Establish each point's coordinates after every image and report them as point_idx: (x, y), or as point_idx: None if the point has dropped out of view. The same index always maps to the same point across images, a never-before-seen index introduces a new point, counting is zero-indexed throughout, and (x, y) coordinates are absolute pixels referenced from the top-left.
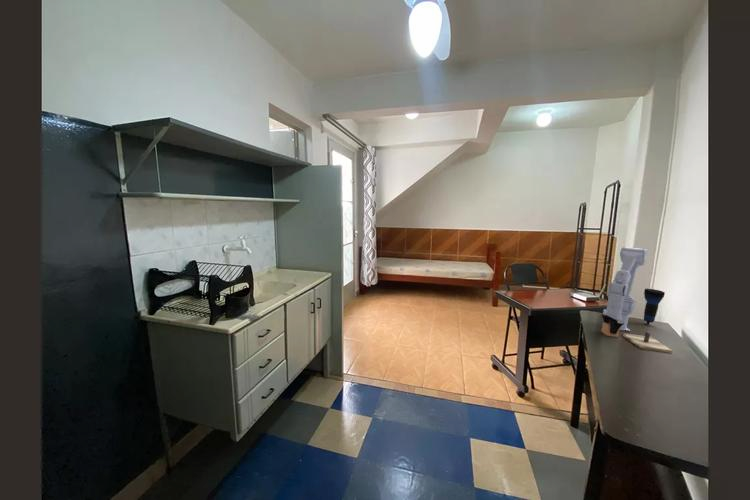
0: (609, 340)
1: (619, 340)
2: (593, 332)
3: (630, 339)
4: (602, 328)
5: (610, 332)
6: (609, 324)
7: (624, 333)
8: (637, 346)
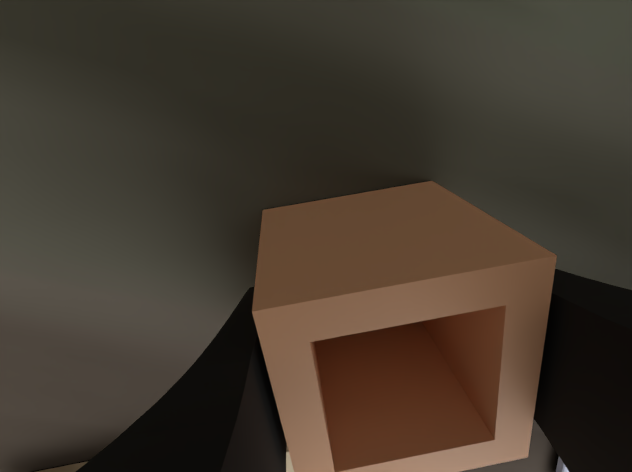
0: (32, 203)
1: (161, 337)
2: (299, 6)
3: None
4: (438, 203)
5: None
6: (487, 366)
7: None
8: (70, 467)
